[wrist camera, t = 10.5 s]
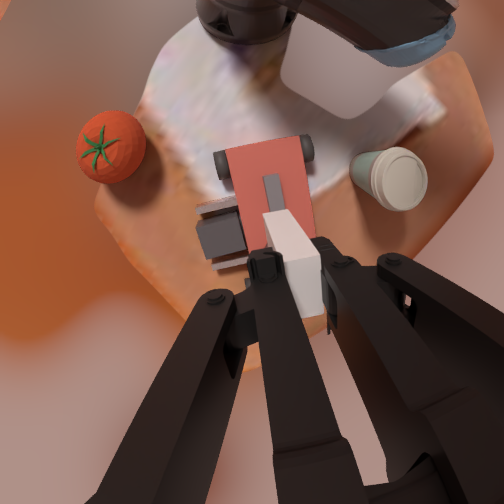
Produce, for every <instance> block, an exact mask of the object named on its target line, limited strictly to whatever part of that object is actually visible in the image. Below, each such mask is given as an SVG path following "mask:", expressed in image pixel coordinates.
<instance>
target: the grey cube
mask: <svg viewBox="0 0 504 504" xmlns="http://www.w3.org/2000/svg"><path fill="white" fill-rule="evenodd" d="M196 231H197V234H198V237H199V240H200V243H201V246H202V249H203V251H204V254H205V257H206V260H207V259H211V258H215V257H219V256H222V255H226V254H230V253H234V252H237V251H241V250H245V249H246V244H245V239H244V235H243V232H242V228H241V225H240V221H239V217H238V214H237V210H235V211H231V212H227V213H224V214H220V215H217V216H213V217H210V218H206V219H203V220H199V221H198V223H197V226H196Z"/></svg>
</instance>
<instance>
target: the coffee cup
mask: <svg viewBox="0 0 504 504" xmlns="http://www.w3.org/2000/svg"><path fill="white" fill-rule="evenodd" d="M349 173H350V177H351V179H352V181H353V182H354V183H355V184H356V185H357V186H359V187H360V188H361V189H363V190H364V191H366V192H367V193H368V194H370V195H371V196H373V197H374V198H375V199H377V201H378V202H379V203H380V204H381V205H382V206H383V207H384V208H386V209H388V210H391V211H405V210H410V209H412V208H414V207H416V206H417V205H418V204H419V203H420V202H421V200H422V199H423V197H424V195H425V193H426V190H427V184H428V177H427V172H426V168H425V166H424V164H423V163H422V161H421V160H420V159H419V158H418V157H417V156H416V155H415V154H414V153H413V152H411V151H409V150H407V149H405V148H402V147H392V148H389V149H387V150H382V151H373V152H365V153H360V154H358V155H356V156H355V157H354V158H353V160H352V161H351V164H350V168H349Z"/></svg>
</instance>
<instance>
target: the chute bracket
mask: <svg viewBox="0 0 504 504" xmlns="http://www.w3.org/2000/svg"><path fill="white" fill-rule="evenodd" d="M236 205H238V203H237V199H236V195H234V196H230V197H225V198H221V199H217V200H213V201H209V202H205V203H201V204H197V206H196V208H195V209H196V213H197V215H198V214H202V213H206V212H210V211H214V210H219V209H223V208H227V207H231V206H236ZM248 255H249V250H247V251H242V252H238V253H234V254H229V255H225V256H220V257H216V258H212V263H211V266H212V269H213V271H214V270H218V269H223V268H227V267H232V266H236V265H240V264H245V263H247V259H248Z"/></svg>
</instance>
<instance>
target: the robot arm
mask: <svg viewBox="0 0 504 504" xmlns="http://www.w3.org/2000/svg"><path fill="white" fill-rule="evenodd" d="M458 7H459V3H458V0H197V1H196V9H197V14H198V17H199V20H200V22H201V23H202V25H203V26H204V28H205V29H206V30H207V31H208V32H210V33H211V34H212V35H214V36H216V37H217V38H219V39H222V40H224V41H227V42H230V43H235V44H243V45H253V44H261V43H265V42H269V41H271V40H274V39H276V38H278V37H280V36H281V35H283V34H284V33H285V32H286V31H287V30H288V29H289V28H290V27H291V25H292V24H293V22H294V20H295V19H296V16H297V14H298V13H300V14H302V15H304V16H305V17H307V18H309V19H311V20H313V21H315V22H317V23H318V24H320V25H322V26H324V27H325V28H327V29H329V30H330V31H332V32H334V33H335V34H337V35H338V36H340V37H342V38H343V39H345V40H346V41H348V42H350V43H351V44H353V45H354V47H355V48H356V49H358V50H359V51H361V52H365V53H367V54H368V55H370V56H371V57H373V58H374V59H376V60H377V61H379V62H380V63H382V64H384V65H386V66H391V67H407V66H411V65H414V64H417V63H420V62H422V61H424V60H426V59H428V58H430V57H431V56H433V55H434V54H436V53H437V52H438V51H440V50H441V49H442V48H443V47H444V46H445V45H446V41H447V40H449V39H451V38H452V36H453V35H454V32H455V27H456V24H455V21H454V19H453V16H452V14H451V13H452V12H454V11H455V10H456V9H457V8H458ZM263 220H264V226H265V231H266V237H267V243H268V247H267V248H262V249H257V250H252V251H251V252H250V254H249V255H248V259H247V267H248V272H249V277H250V281H251V284H250V286H249V287H248V288H247V289H246V290H244V291H243V292H241V293H238V294H236V295H234V294H233V293H232V291H230V290H228V289H214V290H210V291H208V292H206V293H205V294H203V295H202V296H201V297H200V298H199V299H198V301H197V303H196V305H195V306H194V308H193V310H192V312H191V314H190V315H189V317H188V319H187V321H186V322H185V324H184V326H183V328H182V330H181V332H180V333H179V335H178V337H177V339H176V341H175V343H174V344H173V346H172V348H171V350H170V351H169V353H168V355H167V357H166V359H165V361H164V362H163V364H162V366H161V368H160V370H159V372H158V373H157V375H156V377H155V379H154V381H153V383H152V385H151V387H150V388H149V390H148V392H147V394H146V396H145V398H144V400H143V402H142V403H141V405H140V407H139V409H138V411H137V413H136V415H135V417H134V419H133V421H132V423H131V425H130V426H129V428H128V430H127V432H126V434H125V436H124V438H123V440H122V442H121V444H120V446H119V448H118V450H117V452H116V454H115V456H114V458H113V460H112V462H111V464H110V466H109V468H108V470H107V472H106V474H105V476H104V478H103V480H102V482H101V484H100V486H99V488H98V490H97V492H96V493H95V494H94V495H93V496H92V497H91V498H90V499H89V500H88V501H87V502H86V503H85V504H205V501H206V498H207V494H208V491H209V488H210V484H211V481H212V477H213V474H214V471H215V467H216V464H217V461H218V457H219V454H220V450H221V446H222V443H223V439H224V436H225V432H226V429H227V425H228V422H229V418H230V414H231V411H232V407H233V404H234V400H235V396H236V392H237V389H238V385H239V381H240V378H241V374H242V370H243V366H244V363H245V359H246V355H247V346H249V345H251V344H254V343H256V342H258V341H259V349H260V356H261V364H262V371H263V378H264V385H265V393H266V399H267V408H268V414H269V421H270V429H271V437H272V443H273V466H274V474H275V482H276V489H277V496H278V503H279V504H504V313H502V312H501V311H499V310H498V309H496V308H494V307H493V306H491V305H490V304H488V303H486V302H485V301H483V300H482V299H480V298H478V297H477V296H475V295H473V294H472V293H470V292H468V291H467V290H465V289H463V288H462V287H460V286H458V285H457V284H455V283H453V282H451V281H450V280H448V279H446V278H444V277H443V276H441V275H439V274H437V273H435V272H434V271H432V270H430V269H428V268H426V267H425V266H423V265H421V264H419V263H417V262H415V261H414V260H412V259H410V258H408V257H406V256H404V255H401V254H397V253H387V254H383V255H381V256H379V257H378V259H377V266H361V265H360V263H359V262H358V261H357V260H356V259H354V258H353V257H349V256H343V255H342V254H341V253H340V252H339V250H338V249H337V248H336V247H335V246H334V245H333V243H332V242H331V241H330V240H329V239H327V238H325V237H322V236H321V237H316V238H310V239H309V238H308V236H307V235H306V234H305V232H304V231H303V229H302V228H301V227H300V225H299V224H298V222H297V221H296V220H295V218H294V217H293V215H292V214H291V213H290V211H289V210H288V209H285V210H279V211H274V212H268V213H263ZM406 295H408V296H409V297H411V305H410V306H408V305H406V304H405V298H406ZM323 303H324V304H323ZM324 305H325V307H326V309H327V332H328V335H329V334H330V330H332V331H333V334H334V336H335V338H336V340H337V343H338V344H339V347H340V349H341V352H342V353H343V356H344V358H345V360H346V363H347V365H348V367H349V370H350V372H351V374H352V376H353V379H354V381H355V383H356V386H357V388H358V390H359V393H360V395H361V397H362V400H363V402H364V404H365V407H366V409H367V411H368V414H369V417H370V419H371V421H372V424H373V426H374V429H375V431H376V434H377V436H378V439H379V441H380V444H381V446H382V449H383V451H384V454H385V457H386V472H387V477H388V481H389V483H383V484H376V485H368V486H364V485H363V482H362V479H361V475H360V473H359V469H358V466H357V463H356V460H355V457H354V454H353V451H352V449H351V446H350V444H349V442H348V440H347V439H346V438H344V437H342V435H341V433H340V431H339V427H338V424H337V421H336V418H335V415H334V412H333V409H332V406H331V403H330V401H329V397H328V394H327V392H326V388H325V385H324V382H323V379H322V376H321V373H320V371H319V368H318V365H317V362H316V359H315V356H314V353H313V350H312V348H311V345H310V342H309V339H308V336H307V333H306V330H305V328H304V325H303V322H302V318H307V317H312V316H316V315H320V314H324Z"/></svg>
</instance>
